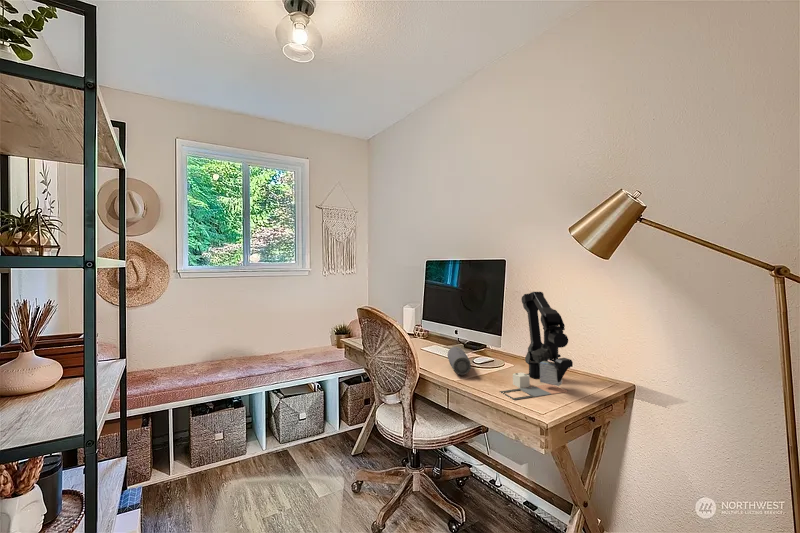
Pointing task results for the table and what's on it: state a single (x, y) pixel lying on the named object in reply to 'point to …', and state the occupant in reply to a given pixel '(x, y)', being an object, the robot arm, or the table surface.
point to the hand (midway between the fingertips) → (551, 378)
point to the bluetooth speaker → (459, 360)
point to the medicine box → (548, 373)
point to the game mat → (537, 391)
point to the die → (521, 380)
